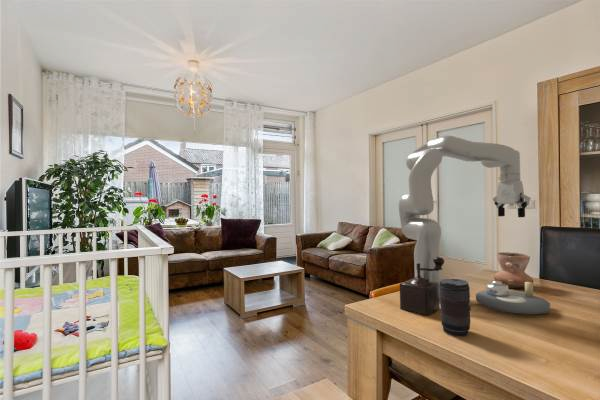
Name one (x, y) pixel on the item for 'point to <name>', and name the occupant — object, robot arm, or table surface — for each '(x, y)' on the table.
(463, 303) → the camera lens
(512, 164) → the robot arm
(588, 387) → the table surface
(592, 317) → the table surface
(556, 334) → the table surface
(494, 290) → the cover
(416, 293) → the manual coffee grinder
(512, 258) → the ceramic jug
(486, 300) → the turntable
